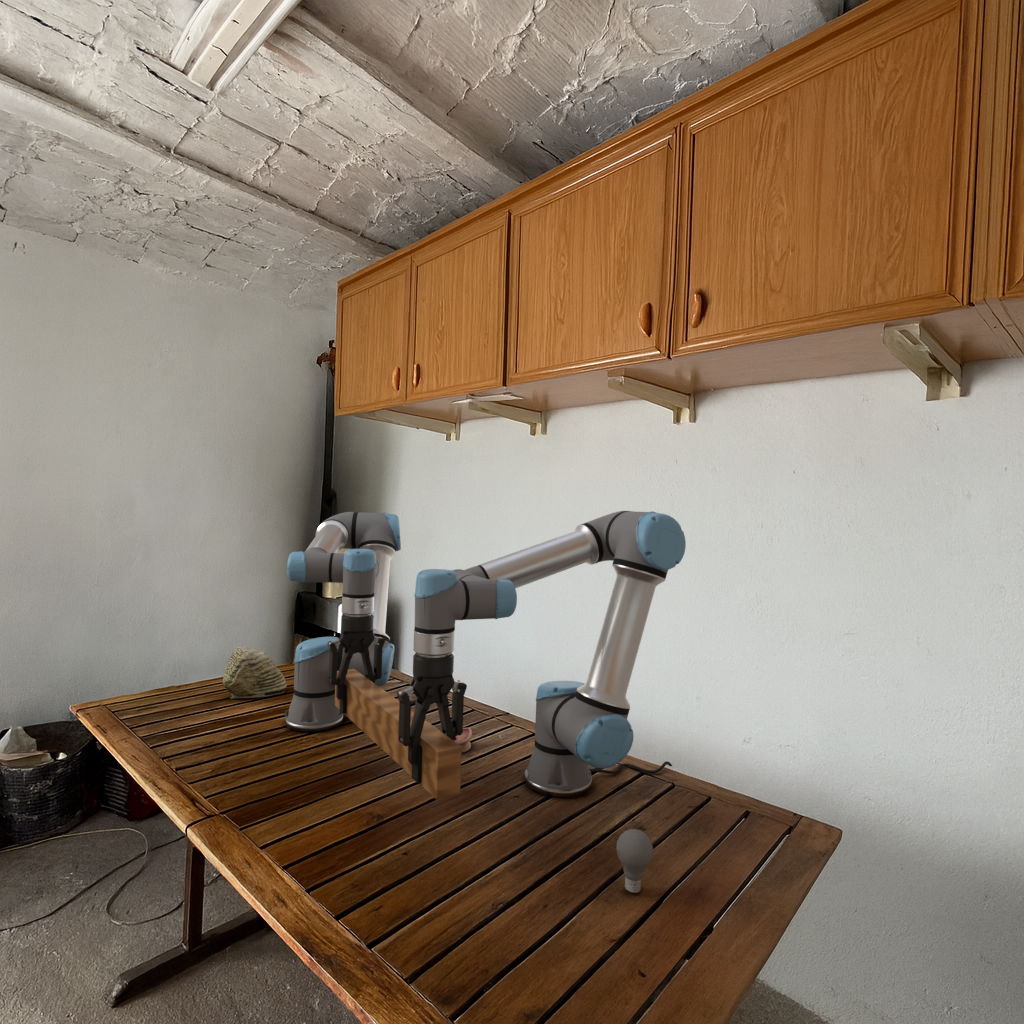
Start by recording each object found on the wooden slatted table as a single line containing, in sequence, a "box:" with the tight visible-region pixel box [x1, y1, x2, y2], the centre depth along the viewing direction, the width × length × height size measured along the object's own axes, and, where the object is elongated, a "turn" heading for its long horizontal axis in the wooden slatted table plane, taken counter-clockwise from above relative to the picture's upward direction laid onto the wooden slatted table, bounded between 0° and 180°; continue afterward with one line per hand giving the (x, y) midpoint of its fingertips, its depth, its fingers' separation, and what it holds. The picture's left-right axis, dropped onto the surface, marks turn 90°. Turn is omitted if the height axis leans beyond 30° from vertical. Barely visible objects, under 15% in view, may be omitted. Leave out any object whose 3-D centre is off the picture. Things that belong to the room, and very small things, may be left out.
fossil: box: [222, 646, 288, 699], centre depth 198 cm, size 9×18×15 cm, turn 132°
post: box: [335, 669, 463, 800], centre depth 135 cm, size 56×5×9 cm, turn 34°
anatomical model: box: [455, 727, 473, 753], centre depth 163 cm, size 13×4×12 cm
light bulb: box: [615, 828, 654, 894], centre depth 106 cm, size 6×6×10 cm
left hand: (354, 710), depth 152 cm, fingers closed on post, 5 cm apart
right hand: (429, 776), depth 118 cm, fingers closed on post, 5 cm apart
